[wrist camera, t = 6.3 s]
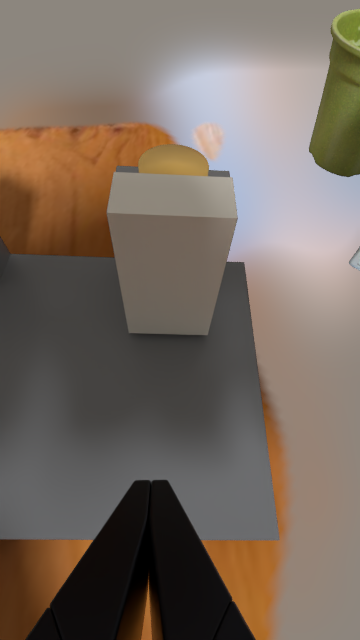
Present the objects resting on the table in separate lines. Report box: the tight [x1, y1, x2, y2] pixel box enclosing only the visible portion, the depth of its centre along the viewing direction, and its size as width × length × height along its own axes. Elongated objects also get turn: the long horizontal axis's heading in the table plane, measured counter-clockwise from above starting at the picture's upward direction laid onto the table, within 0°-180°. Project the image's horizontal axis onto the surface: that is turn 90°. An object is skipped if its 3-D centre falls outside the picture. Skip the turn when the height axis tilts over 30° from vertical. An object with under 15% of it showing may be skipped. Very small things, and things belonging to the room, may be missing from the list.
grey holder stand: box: [0, 144, 279, 540], centre depth 13 cm, size 14×19×8 cm
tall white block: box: [107, 172, 238, 335], centre depth 14 cm, size 2×4×8 cm, turn 89°
